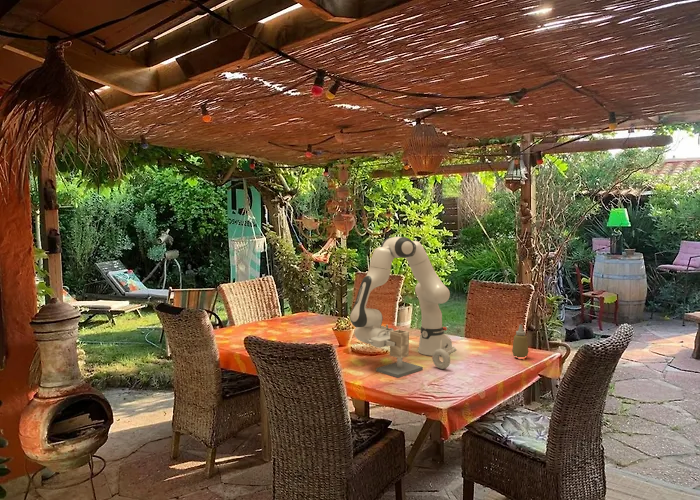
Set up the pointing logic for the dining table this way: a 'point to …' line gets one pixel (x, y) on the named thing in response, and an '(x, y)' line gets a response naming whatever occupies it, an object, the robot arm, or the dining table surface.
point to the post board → (399, 369)
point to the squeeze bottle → (520, 343)
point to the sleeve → (399, 343)
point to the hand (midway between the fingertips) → (400, 342)
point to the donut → (437, 361)
